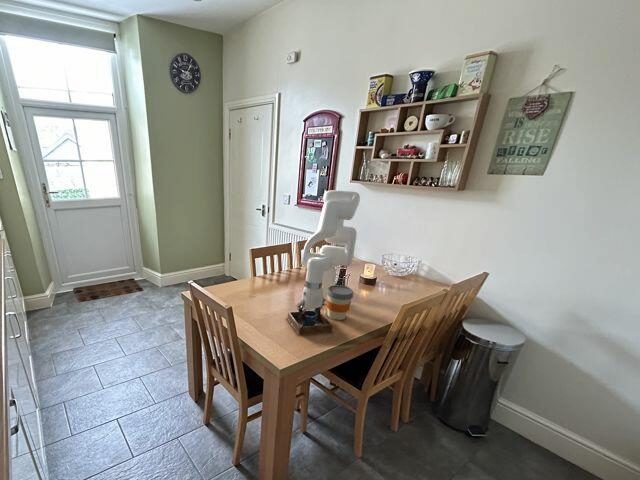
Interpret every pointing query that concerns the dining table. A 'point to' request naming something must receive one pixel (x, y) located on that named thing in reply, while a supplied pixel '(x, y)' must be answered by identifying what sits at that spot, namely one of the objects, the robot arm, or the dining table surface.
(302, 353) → the dining table surface
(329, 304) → the reusable coffee cup
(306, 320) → the dark blue cup
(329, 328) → the dark wooden tray
